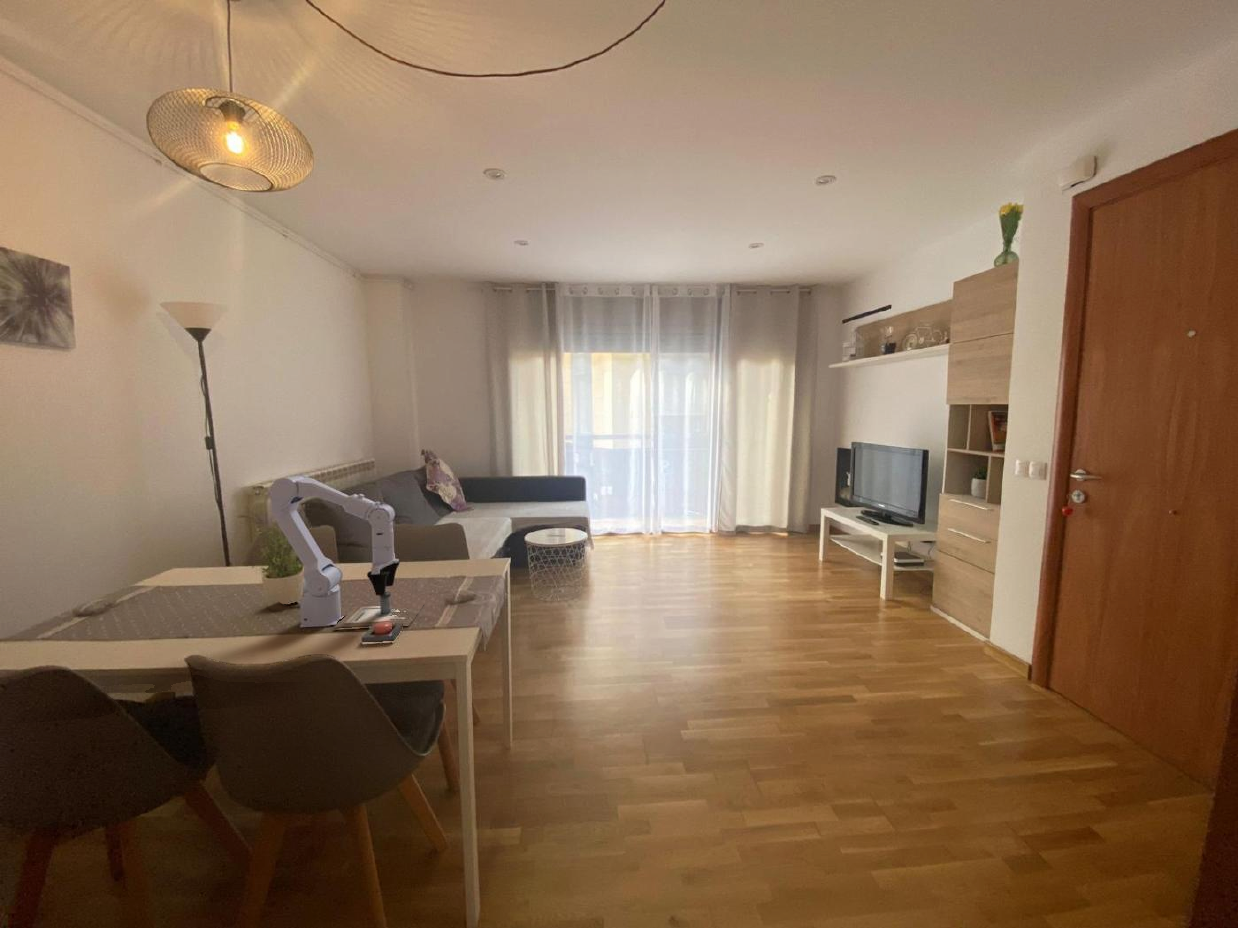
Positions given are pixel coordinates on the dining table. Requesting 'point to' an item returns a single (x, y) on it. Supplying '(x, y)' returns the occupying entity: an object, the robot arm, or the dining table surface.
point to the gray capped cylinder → (385, 603)
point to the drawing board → (365, 617)
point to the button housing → (371, 637)
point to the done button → (383, 628)
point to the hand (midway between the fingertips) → (384, 590)
